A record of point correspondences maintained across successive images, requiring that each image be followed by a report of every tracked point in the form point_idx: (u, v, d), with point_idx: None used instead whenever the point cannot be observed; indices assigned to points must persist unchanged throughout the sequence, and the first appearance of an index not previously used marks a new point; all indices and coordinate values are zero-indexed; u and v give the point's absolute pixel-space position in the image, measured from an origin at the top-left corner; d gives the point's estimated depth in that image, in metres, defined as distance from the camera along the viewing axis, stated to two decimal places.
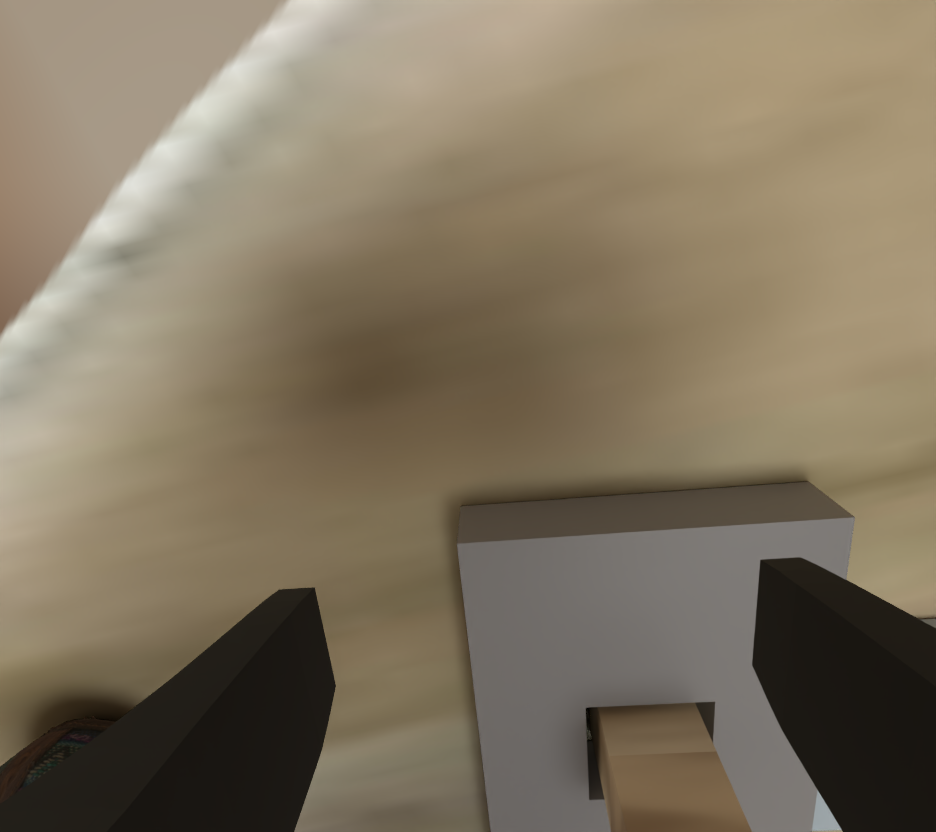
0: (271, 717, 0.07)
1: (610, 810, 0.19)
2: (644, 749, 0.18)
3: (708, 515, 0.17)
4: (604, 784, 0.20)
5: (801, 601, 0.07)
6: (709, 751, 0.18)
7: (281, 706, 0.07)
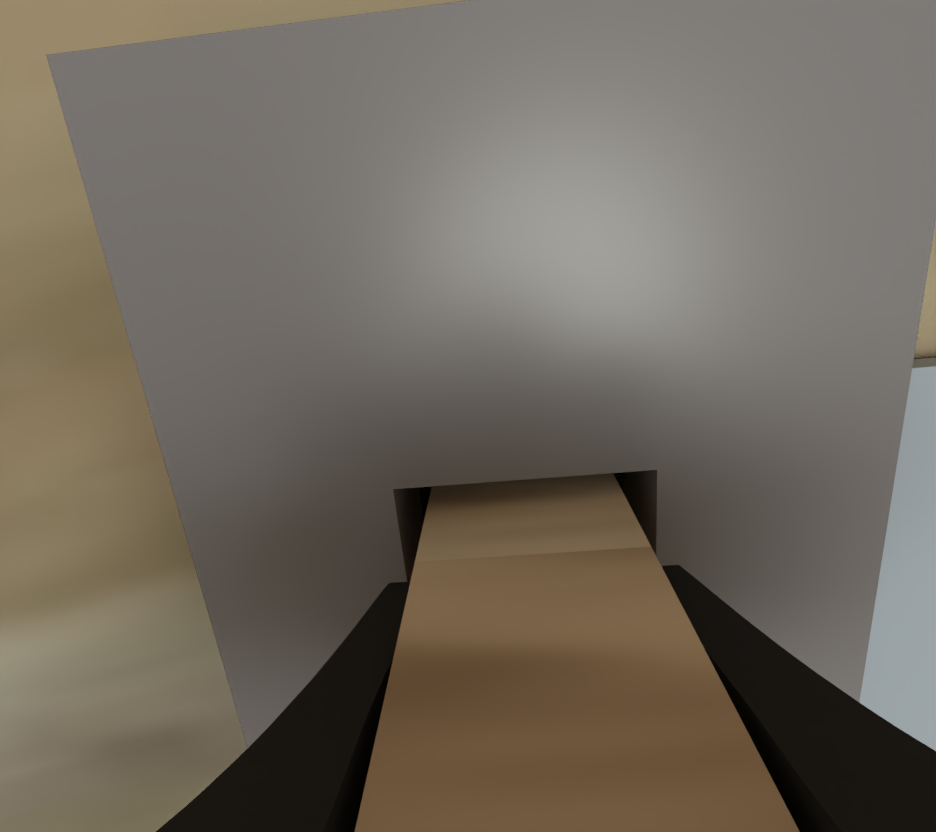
0: None
1: None
2: (495, 549, 0.08)
3: None
4: None
5: None
6: (635, 547, 0.08)
7: None
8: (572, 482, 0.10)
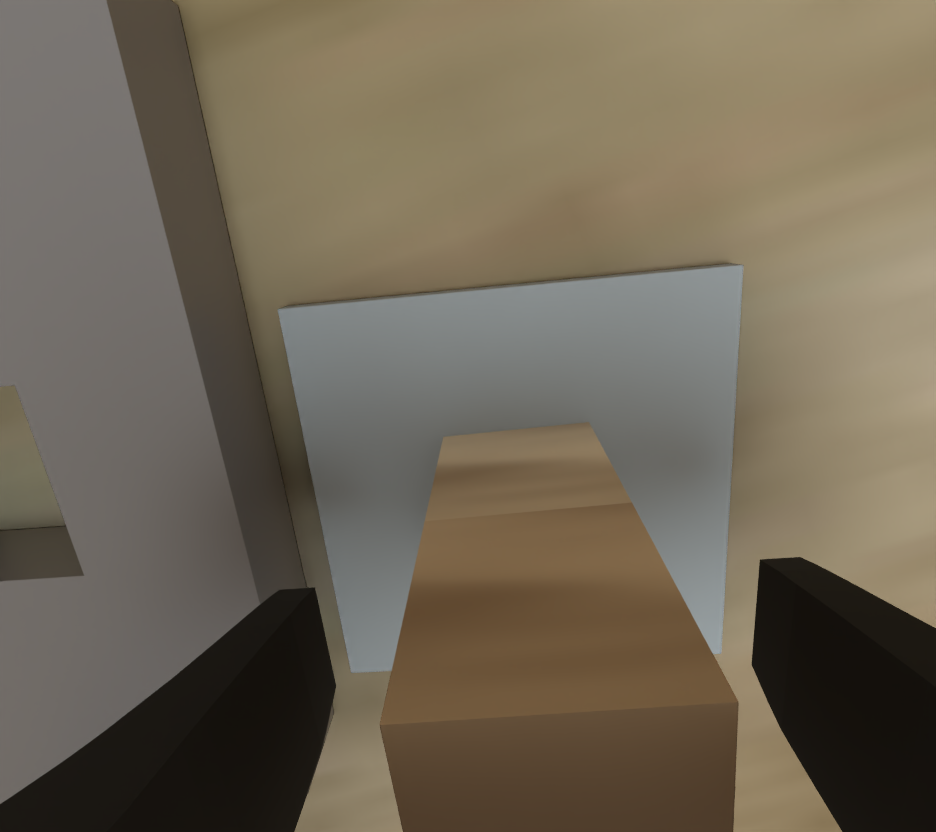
0: (271, 717, 0.07)
1: None
2: (496, 509, 0.09)
3: None
4: None
5: (801, 601, 0.07)
6: (618, 502, 0.09)
7: (281, 706, 0.07)
8: (564, 453, 0.11)
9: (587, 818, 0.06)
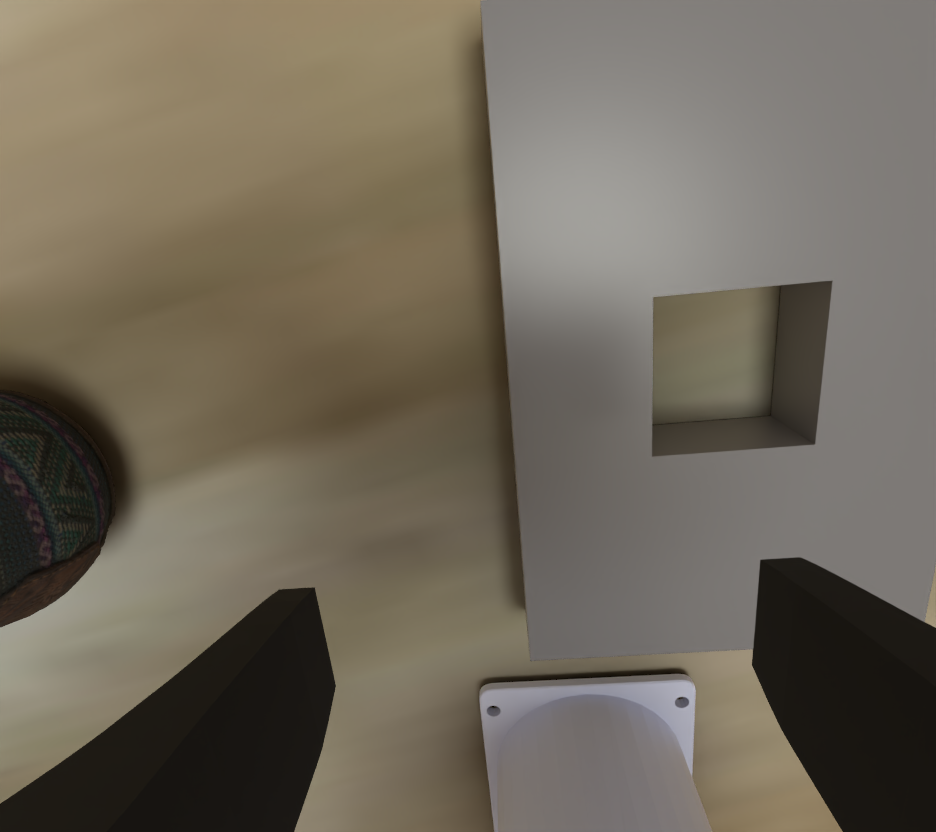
0: (271, 718, 0.07)
1: None
2: None
3: None
4: None
5: (801, 601, 0.07)
6: None
7: (281, 706, 0.07)
8: None
9: None
